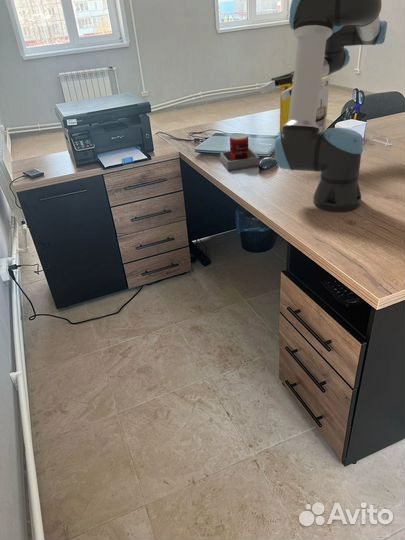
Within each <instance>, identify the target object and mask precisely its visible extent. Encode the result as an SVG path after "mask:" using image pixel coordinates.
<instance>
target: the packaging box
mask: <svg viewBox="0 0 405 540" xmlns="http://www.w3.org/2000/svg"><path fill="white" fill-rule="evenodd" d="M330 80H331V76H326V77H324V78H322V80H321V84H320V91H319V99H318V106H317V114H316V121H315V122H316V124H317V125H318V127H319V134H322V133H324V132H325V130H326V129H327V128H326V124H327V115H328V102H329V92H330V91H329V90H330ZM292 81H293V79H292ZM292 85H293V84H290V83H289V84H284V85H280V93H281V92H283V91H285V90H287V89H289V88H291V87H292ZM279 101H280V103H279V104H280V107H279V110H280V111H279V132H282V128H283V125H284V124H285V123H287V122H288V118H289V110H290V101H291V96H290V97H288V98H286V99H284V100H282V97H281V96H280V100H279Z"/></svg>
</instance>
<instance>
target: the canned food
mask: <svg viewBox="0 0 405 540" xmlns="http://www.w3.org/2000/svg"><path fill="white" fill-rule="evenodd" d="M229 151H230V155H231V161H234V160H241V159H247V158H249V134H246V133H234V134H231V135H230V136H229Z"/></svg>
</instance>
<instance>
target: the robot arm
mask: <svg viewBox="0 0 405 540" xmlns="http://www.w3.org/2000/svg"><path fill="white" fill-rule="evenodd" d="M381 11H382V0H291V3H290V8H289V18H288V20H289V21H288V23H289V26H290V29H291V30H293V35H294V36H295V39H297V44H296V51H295V61H294V70H293V71H290V72H289V73H285V74H282V75H278V76H276V77H272V78H271V81H269V82H267V83H266V84H264V85H261V86H260V87H259V88H260V93H261V95H264V94H266V93H267V92H269V91H271V90H273V89H276V87H281V85H284V84H289V83H290V84H293V85H292V87H291V88H289V89H287V90H285V91H283V92H281V91H280V97H282V100H284V99H286V98H288V97H290V96H291V101H290V110H289V118H288V122H287V123H285V124H284V125H283V128H282V132H280V131H278V132H277V133H276V135H275V140H274V155H275V156H274V157H275V160H276V164H277V166H278V167H279V168H280V169H283V170H288V171H289V170H290V171H304V172H317V173H319V172H320V180H319V182H318V184H317V187H316V188H315V192H314V194H313V201H312V202H313V204H314V205H315V206H316V207H317V208H319V209H321V210H324V211H328V212H336V213H337V212H339V213H340V212H349V211H352V210H355V209H357V208H359V207H360V206H361V202H362V194H361V188H360V184H359V176H360V175H359V174H360V168H361V161H362V155H363V152H364V149H363V146H364V138H363V136H362V134H361V133H359V132H357V131H356V130H353V129H350V128H346V127H345V128H344V127H329V128H325V131H324V132H323V133H319V127H318V125H317V124H316V122H315V121H316V114H317V106H318V99H319V91H320V84H321V80H322V78H324V77H329V75H332V74H334V73H335V72H338V71H340V70H341V69H343V68H344V67H346V66H347V65H348V64H349V63H350V58H351V57H350V55H349V52H350V51H348V49H347V48H346V47H351V46H369V45H370V46H376V45H382V44H384V43H385V40H386V35H387V28H388V22H387V21H386V20H380V14H381ZM292 79H293V81H292Z"/></svg>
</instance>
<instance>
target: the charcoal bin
mask: <svg viewBox="0 0 405 540" xmlns="http://www.w3.org/2000/svg"><path fill="white" fill-rule="evenodd" d="M219 156H220V157H219V158H220V162H221V164H222V165H223V167H224V168H225V170H226V171H227V172H233V171H239V170H245V169H247V170H248V169H253V168H254V169H255V168H259V167H260V156H258V154H256V152H255V151H254V150H253V149H251V147H250V148H249V158H247V159H241V160H234V161H231V155H230V150H228V151H221V152H220V153H219Z"/></svg>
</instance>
